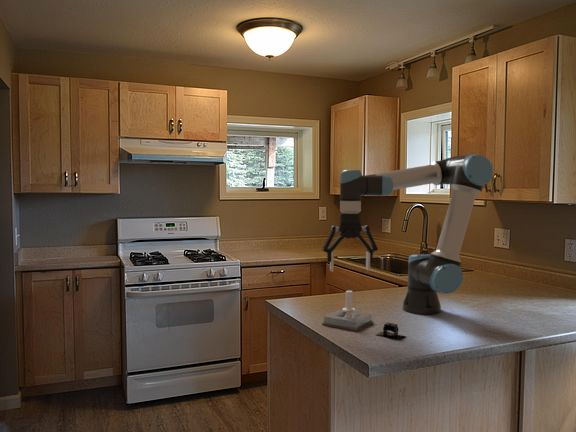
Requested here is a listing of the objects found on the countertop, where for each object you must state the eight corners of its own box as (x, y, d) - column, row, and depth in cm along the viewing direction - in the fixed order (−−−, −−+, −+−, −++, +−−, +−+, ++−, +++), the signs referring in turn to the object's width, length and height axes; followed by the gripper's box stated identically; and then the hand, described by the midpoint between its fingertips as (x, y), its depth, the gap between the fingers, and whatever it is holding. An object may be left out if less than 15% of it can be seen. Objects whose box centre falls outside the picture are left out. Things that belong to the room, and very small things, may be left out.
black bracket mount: (369, 336, 170) (369, 323, 169) (378, 331, 175) (378, 318, 175) (403, 343, 162) (404, 330, 162) (412, 338, 168) (412, 325, 168)
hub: (373, 322, 185) (373, 314, 185) (357, 331, 173) (357, 322, 173) (339, 316, 193) (339, 308, 192) (322, 324, 181) (322, 316, 181)
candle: (352, 319, 186) (353, 287, 186) (358, 323, 181) (358, 290, 180) (339, 320, 185) (339, 288, 184) (344, 324, 180) (344, 291, 179)
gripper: (380, 211, 186) (379, 267, 187) (314, 212, 183) (314, 269, 184) (386, 212, 178) (386, 271, 180) (318, 213, 175) (318, 273, 177)
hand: (349, 270), depth 182 cm, fingers open, 13 cm apart
